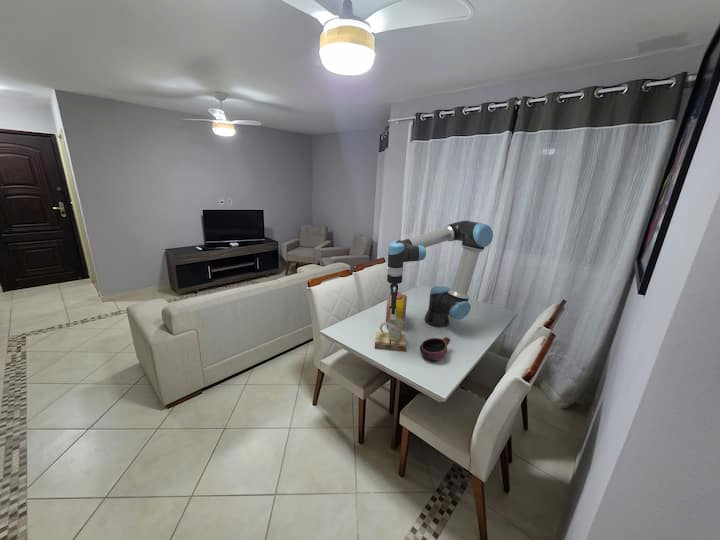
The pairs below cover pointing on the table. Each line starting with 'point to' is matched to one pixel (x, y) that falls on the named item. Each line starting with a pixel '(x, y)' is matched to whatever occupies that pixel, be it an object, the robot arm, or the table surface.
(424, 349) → the bowl
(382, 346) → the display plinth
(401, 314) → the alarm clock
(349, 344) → the table surface
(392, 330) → the mug
